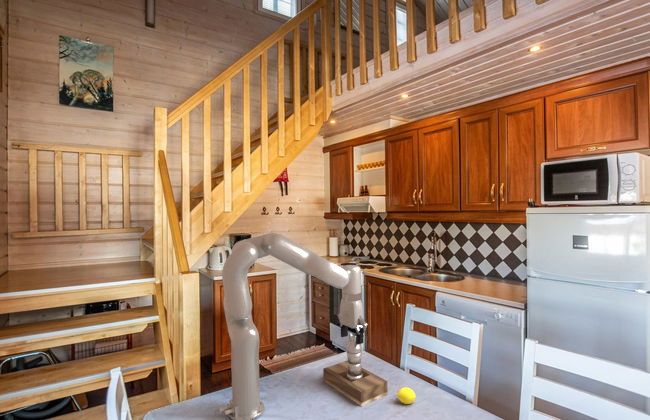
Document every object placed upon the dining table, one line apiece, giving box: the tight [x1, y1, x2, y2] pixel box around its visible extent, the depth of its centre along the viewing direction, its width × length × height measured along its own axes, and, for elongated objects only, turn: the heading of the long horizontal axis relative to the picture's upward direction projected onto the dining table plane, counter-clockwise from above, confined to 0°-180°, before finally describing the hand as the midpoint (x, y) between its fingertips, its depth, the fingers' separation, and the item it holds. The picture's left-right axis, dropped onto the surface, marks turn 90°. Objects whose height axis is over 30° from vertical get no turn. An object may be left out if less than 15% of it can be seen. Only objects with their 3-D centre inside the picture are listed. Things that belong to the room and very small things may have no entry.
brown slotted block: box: [322, 359, 389, 407], centre depth 140 cm, size 13×24×5 cm, turn 35°
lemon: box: [396, 386, 417, 405], centre depth 128 cm, size 7×5×5 cm
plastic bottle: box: [345, 332, 363, 382], centre depth 140 cm, size 6×7×20 cm
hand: (351, 340), depth 140 cm, fingers open, 9 cm apart
